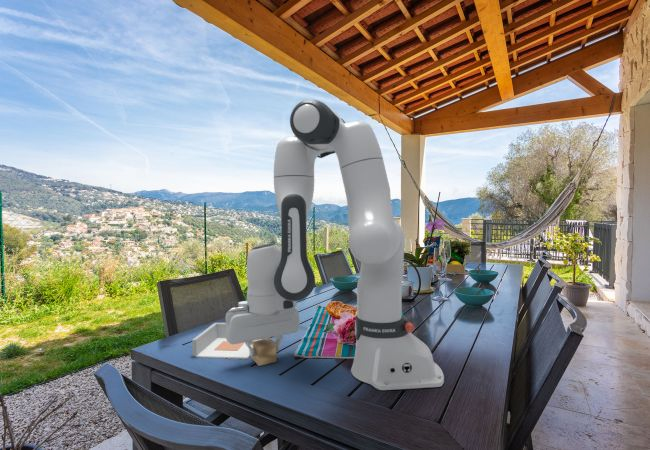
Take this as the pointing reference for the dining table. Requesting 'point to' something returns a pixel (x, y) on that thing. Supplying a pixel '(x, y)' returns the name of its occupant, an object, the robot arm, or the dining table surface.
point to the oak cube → (265, 351)
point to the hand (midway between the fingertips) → (264, 353)
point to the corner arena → (218, 344)
